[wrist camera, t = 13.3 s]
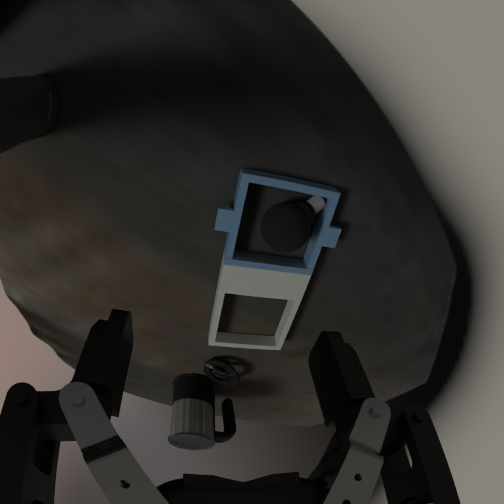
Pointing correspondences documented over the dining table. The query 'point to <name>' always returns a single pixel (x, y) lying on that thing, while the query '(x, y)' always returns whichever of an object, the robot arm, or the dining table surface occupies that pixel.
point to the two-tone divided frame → (268, 261)
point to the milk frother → (201, 408)
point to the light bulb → (290, 224)
